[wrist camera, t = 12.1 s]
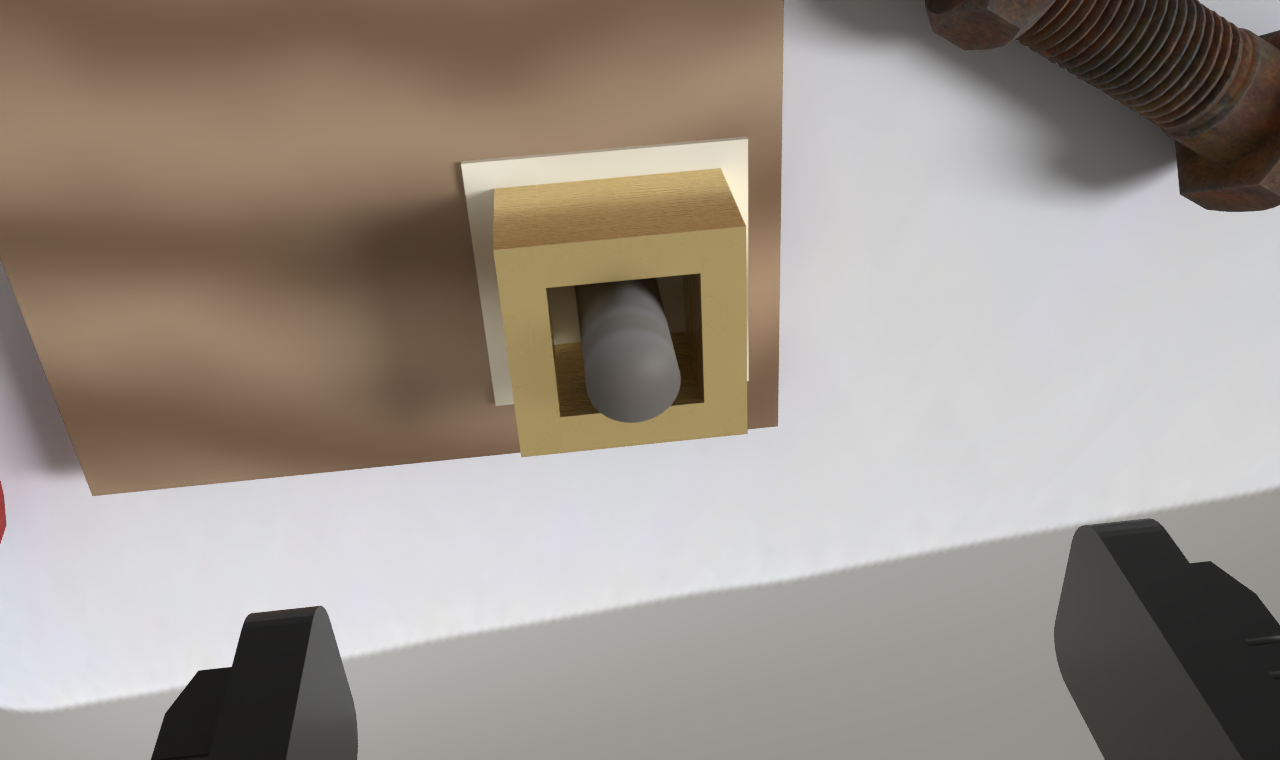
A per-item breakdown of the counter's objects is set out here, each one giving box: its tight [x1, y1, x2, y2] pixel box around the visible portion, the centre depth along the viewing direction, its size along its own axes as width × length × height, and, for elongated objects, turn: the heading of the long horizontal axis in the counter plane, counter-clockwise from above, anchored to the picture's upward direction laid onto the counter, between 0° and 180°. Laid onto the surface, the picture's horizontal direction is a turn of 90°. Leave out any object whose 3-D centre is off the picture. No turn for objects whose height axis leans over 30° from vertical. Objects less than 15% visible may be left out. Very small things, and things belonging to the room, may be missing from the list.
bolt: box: [925, 0, 1280, 212], centre depth 31 cm, size 6×5×15 cm
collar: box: [493, 168, 747, 457], centre depth 32 cm, size 6×6×4 cm
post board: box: [0, 0, 784, 496], centre depth 31 cm, size 16×22×8 cm
